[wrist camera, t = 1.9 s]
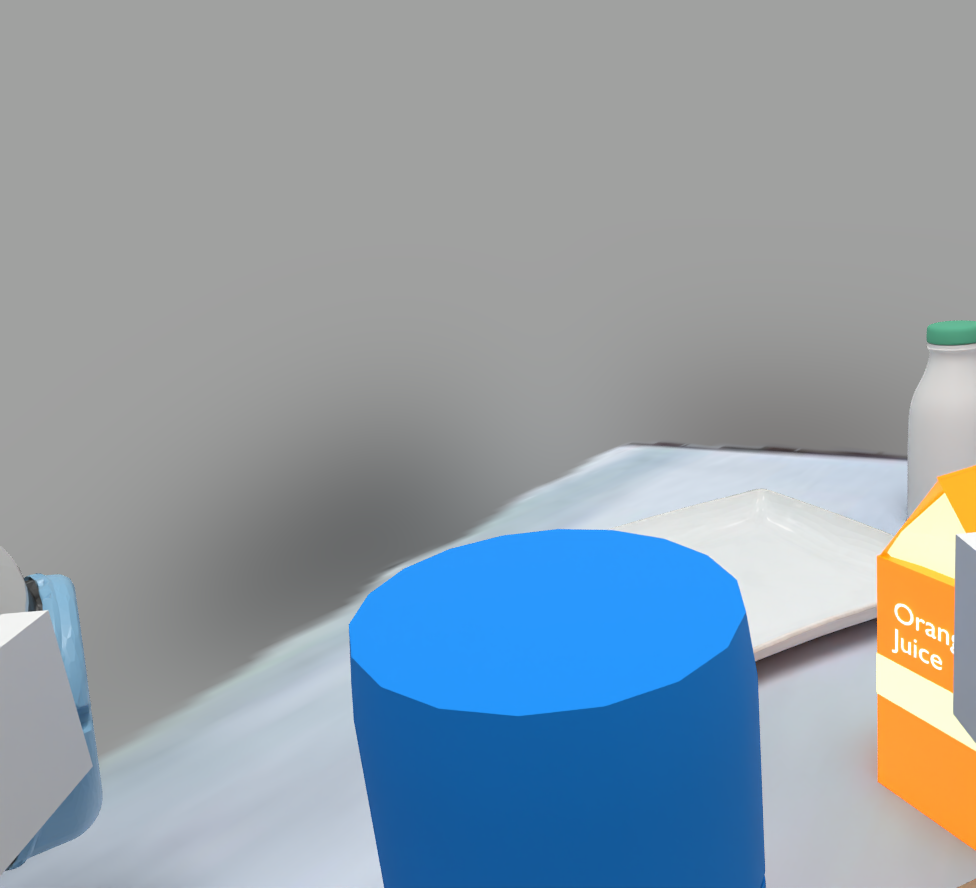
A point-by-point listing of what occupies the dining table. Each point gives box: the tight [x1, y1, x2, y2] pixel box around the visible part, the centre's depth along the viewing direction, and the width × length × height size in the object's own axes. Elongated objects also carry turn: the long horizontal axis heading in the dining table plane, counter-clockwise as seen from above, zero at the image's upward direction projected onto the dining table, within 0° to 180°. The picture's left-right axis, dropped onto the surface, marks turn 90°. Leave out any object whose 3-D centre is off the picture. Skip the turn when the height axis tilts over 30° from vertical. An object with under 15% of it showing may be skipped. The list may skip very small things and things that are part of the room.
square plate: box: [607, 489, 895, 661], centre depth 76 cm, size 27×27×4 cm
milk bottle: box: [907, 321, 976, 519], centre depth 81 cm, size 8×8×20 cm
